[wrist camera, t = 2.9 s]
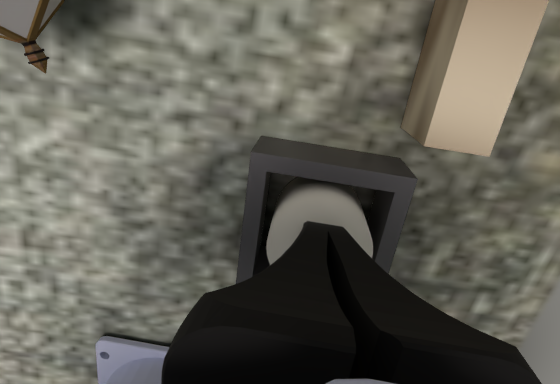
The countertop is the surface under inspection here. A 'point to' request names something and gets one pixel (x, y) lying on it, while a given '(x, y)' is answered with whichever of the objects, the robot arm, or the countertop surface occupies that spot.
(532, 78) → the countertop surface
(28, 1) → the game die
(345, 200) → the button
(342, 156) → the button box
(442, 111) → the rail
